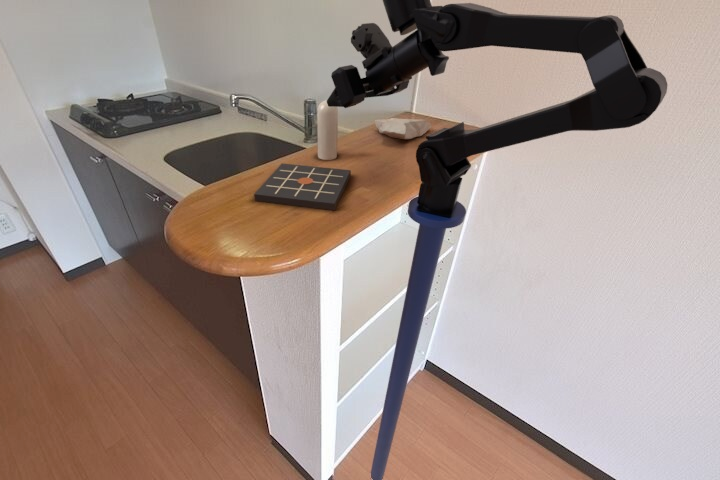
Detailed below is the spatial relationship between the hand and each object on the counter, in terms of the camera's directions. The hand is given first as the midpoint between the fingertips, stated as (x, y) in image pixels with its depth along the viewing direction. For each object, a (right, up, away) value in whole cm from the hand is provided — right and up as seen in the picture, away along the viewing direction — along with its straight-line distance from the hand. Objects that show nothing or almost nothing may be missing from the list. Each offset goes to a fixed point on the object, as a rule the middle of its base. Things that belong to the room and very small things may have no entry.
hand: (342, 99), depth 72 cm
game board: (-8, -18, +1) cm, 20 cm away
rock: (+17, +3, +28) cm, 33 cm away
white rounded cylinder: (-3, -7, +15) cm, 17 cm away
